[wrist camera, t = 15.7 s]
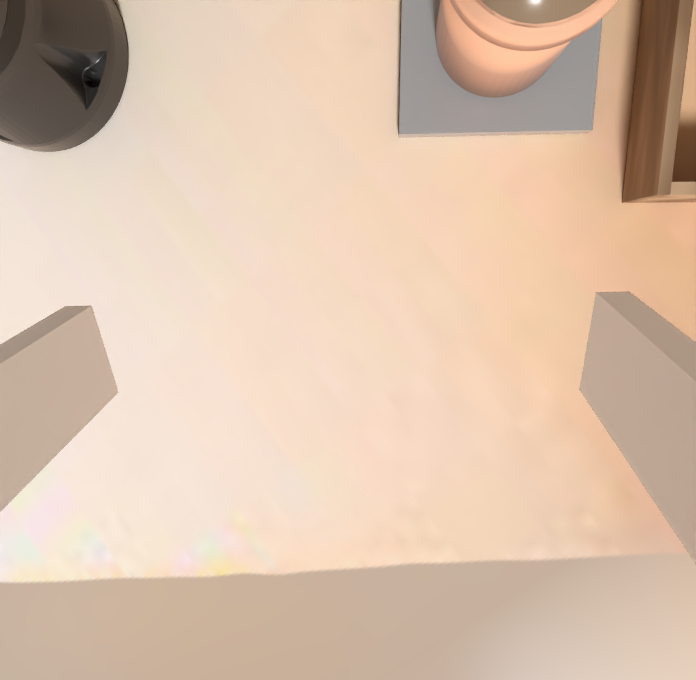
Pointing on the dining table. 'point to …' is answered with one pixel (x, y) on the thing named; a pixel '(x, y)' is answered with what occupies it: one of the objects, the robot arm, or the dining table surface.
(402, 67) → the slate tile
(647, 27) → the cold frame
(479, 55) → the seedling pot
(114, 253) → the dining table surface
